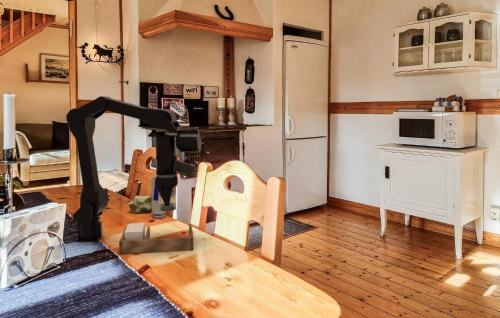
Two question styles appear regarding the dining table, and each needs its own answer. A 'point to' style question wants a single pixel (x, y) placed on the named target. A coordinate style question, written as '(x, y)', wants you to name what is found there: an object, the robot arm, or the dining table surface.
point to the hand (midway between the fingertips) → (167, 204)
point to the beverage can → (156, 201)
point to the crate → (155, 244)
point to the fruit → (141, 204)
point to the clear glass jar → (172, 202)
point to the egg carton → (135, 231)
